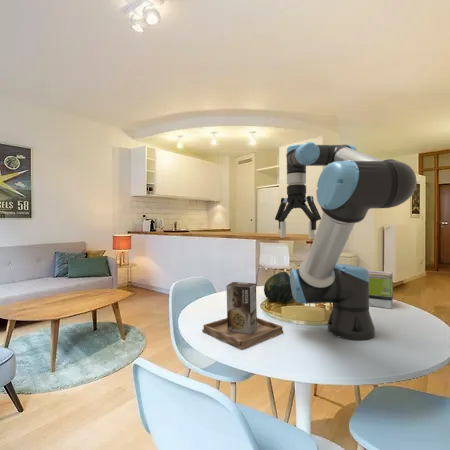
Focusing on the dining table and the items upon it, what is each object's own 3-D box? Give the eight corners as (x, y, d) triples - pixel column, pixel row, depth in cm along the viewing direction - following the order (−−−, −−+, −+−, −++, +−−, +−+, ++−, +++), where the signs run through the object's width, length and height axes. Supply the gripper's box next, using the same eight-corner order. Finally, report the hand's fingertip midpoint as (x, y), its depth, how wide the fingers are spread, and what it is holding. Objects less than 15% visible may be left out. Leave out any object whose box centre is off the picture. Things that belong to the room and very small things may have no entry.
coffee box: (257, 328, 106) (257, 283, 106) (251, 335, 100) (250, 287, 100) (234, 324, 110) (233, 281, 110) (226, 330, 104) (225, 284, 104)
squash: (258, 285, 153) (266, 266, 143) (284, 285, 157) (294, 266, 147) (266, 310, 142) (275, 291, 133) (294, 308, 147) (305, 290, 137)
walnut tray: (283, 332, 104) (283, 326, 104) (241, 350, 91) (241, 342, 91) (243, 318, 119) (243, 313, 119) (202, 331, 106) (202, 325, 106)
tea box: (393, 303, 137) (393, 271, 137) (391, 309, 129) (391, 275, 129) (357, 299, 146) (357, 269, 145) (354, 304, 137) (353, 272, 137)
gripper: (330, 182, 113) (330, 238, 113) (277, 188, 132) (278, 236, 132) (319, 181, 108) (319, 239, 108) (266, 187, 127) (266, 237, 127)
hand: (296, 238), depth 120 cm, fingers open, 13 cm apart
